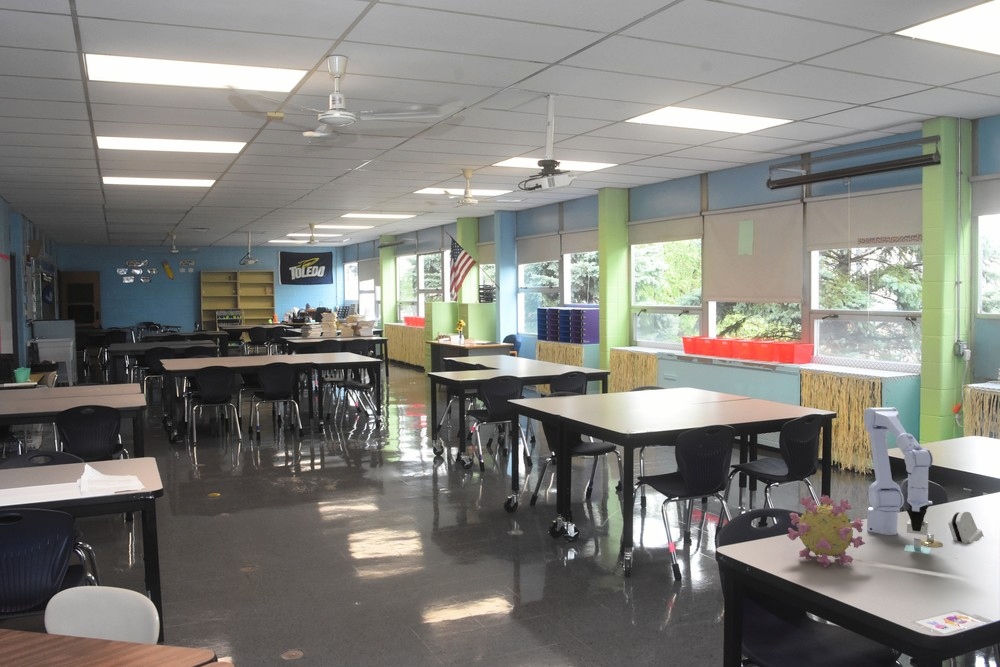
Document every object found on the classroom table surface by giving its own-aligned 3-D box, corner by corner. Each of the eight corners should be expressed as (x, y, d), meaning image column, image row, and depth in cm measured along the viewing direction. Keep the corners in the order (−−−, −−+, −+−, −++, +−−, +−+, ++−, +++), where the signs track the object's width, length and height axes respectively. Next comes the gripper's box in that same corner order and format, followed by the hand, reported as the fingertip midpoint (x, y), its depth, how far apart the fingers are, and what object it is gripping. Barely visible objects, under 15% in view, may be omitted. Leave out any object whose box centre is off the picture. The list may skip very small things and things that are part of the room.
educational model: (791, 546, 253) (791, 487, 252) (866, 555, 243) (866, 494, 242) (783, 568, 232) (784, 503, 231) (865, 579, 222) (865, 512, 222)
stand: (903, 552, 245) (903, 540, 245) (906, 546, 251) (906, 534, 250) (928, 556, 241) (928, 543, 241) (930, 550, 247) (930, 537, 247)
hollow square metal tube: (906, 532, 245) (906, 523, 245) (908, 528, 249) (908, 519, 249) (926, 535, 242) (926, 525, 242) (928, 531, 246) (928, 521, 246)
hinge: (971, 546, 251) (960, 516, 253) (956, 548, 254) (945, 518, 256) (983, 535, 263) (972, 506, 265) (969, 537, 266) (958, 509, 268)
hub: (917, 546, 251) (917, 535, 251) (919, 540, 256) (919, 530, 256) (941, 549, 247) (941, 538, 247) (943, 544, 253) (943, 533, 252)
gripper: (930, 493, 237) (929, 536, 237) (934, 483, 249) (933, 524, 249) (904, 490, 241) (904, 532, 241) (909, 480, 253) (909, 521, 253)
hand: (917, 528), depth 246 cm, fingers closed on hollow square metal tube, 6 cm apart
